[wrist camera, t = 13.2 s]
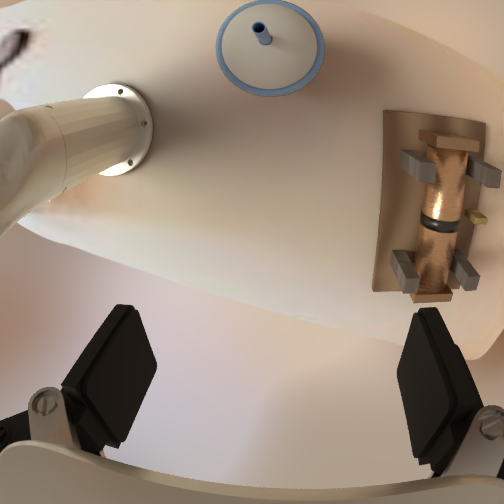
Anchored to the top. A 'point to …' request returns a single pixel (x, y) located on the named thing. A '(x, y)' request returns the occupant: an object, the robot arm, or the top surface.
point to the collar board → (411, 198)
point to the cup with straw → (270, 48)
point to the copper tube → (441, 213)
